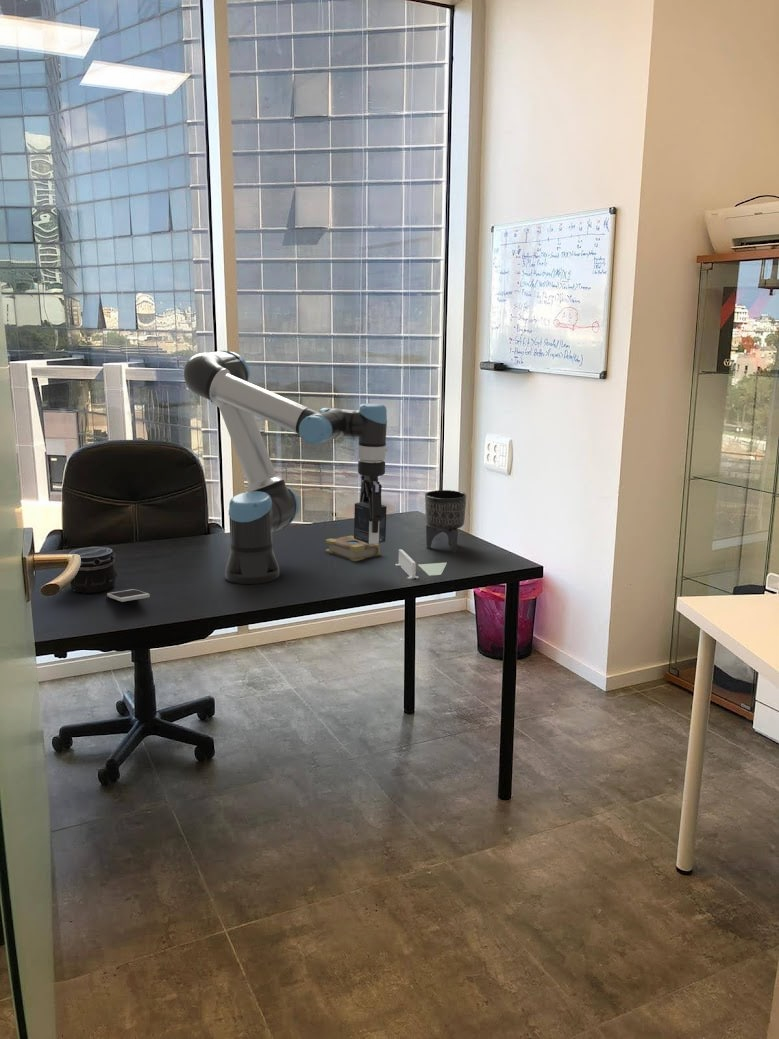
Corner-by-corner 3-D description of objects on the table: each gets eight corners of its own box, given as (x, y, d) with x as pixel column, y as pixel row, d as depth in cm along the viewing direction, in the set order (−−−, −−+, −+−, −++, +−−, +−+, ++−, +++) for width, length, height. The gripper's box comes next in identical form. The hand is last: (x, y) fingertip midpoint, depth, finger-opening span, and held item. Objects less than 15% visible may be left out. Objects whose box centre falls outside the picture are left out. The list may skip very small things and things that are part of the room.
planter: (425, 554, 267) (426, 498, 263) (422, 543, 279) (423, 490, 275) (467, 554, 267) (468, 498, 263) (462, 543, 280) (463, 490, 276)
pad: (429, 576, 245) (429, 575, 245) (417, 565, 255) (417, 564, 255) (459, 574, 247) (459, 573, 247) (446, 563, 258) (446, 562, 258)
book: (325, 552, 270) (325, 537, 268) (352, 546, 277) (352, 531, 276) (354, 563, 259) (354, 547, 258) (382, 556, 266) (382, 541, 265)
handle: (408, 580, 242) (408, 563, 241) (395, 565, 255) (395, 549, 254) (418, 579, 243) (419, 562, 242) (405, 565, 256) (405, 549, 255)
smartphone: (121, 601, 214) (121, 598, 214) (106, 596, 227) (106, 592, 227) (150, 597, 217) (149, 593, 217) (134, 592, 231) (133, 588, 231)
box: (385, 542, 243) (387, 505, 240) (370, 545, 240) (371, 508, 237) (368, 535, 249) (369, 500, 246) (353, 538, 245) (354, 502, 243)
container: (83, 578, 242) (80, 544, 239) (126, 581, 240) (123, 546, 237) (58, 592, 230) (55, 557, 227) (103, 595, 228) (101, 559, 225)
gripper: (395, 467, 229) (392, 548, 235) (375, 452, 250) (373, 527, 255) (367, 468, 227) (365, 550, 233) (349, 453, 248) (348, 528, 253)
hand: (369, 538), depth 244 cm, fingers closed on box, 9 cm apart
